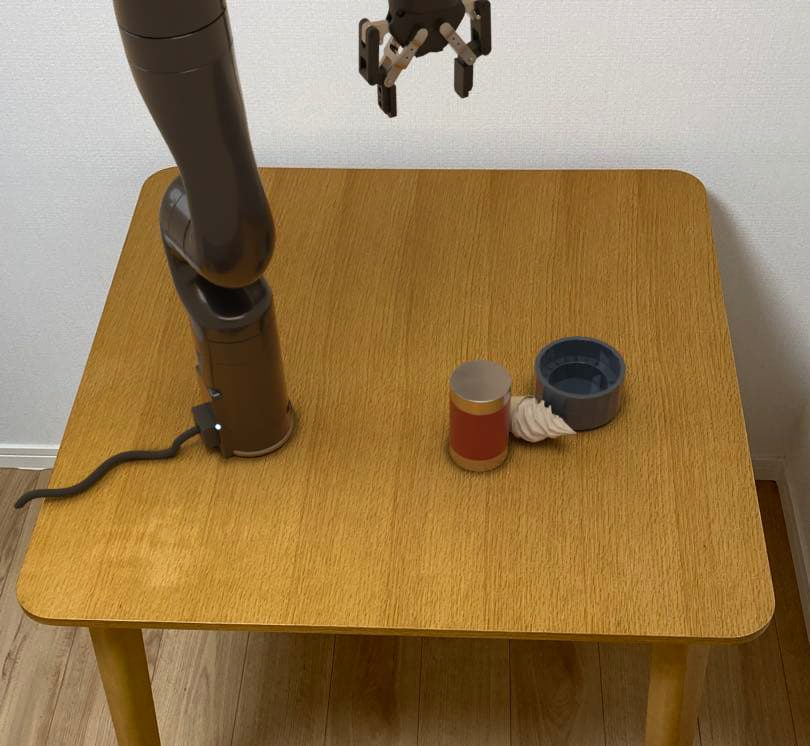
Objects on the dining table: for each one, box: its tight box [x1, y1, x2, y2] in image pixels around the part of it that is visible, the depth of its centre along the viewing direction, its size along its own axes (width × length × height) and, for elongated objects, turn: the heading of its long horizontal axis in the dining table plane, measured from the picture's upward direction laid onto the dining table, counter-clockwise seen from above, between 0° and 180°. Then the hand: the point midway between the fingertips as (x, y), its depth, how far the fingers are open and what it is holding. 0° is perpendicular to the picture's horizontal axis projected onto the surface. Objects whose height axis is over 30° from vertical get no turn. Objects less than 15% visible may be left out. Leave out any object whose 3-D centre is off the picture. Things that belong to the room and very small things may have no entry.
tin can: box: [448, 359, 512, 473], centre depth 131 cm, size 7×7×11 cm
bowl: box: [531, 335, 627, 431], centre depth 138 cm, size 10×10×6 cm
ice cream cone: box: [509, 394, 578, 443], centre depth 136 cm, size 5×5×15 cm
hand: (426, 104), depth 127 cm, fingers open, 8 cm apart
